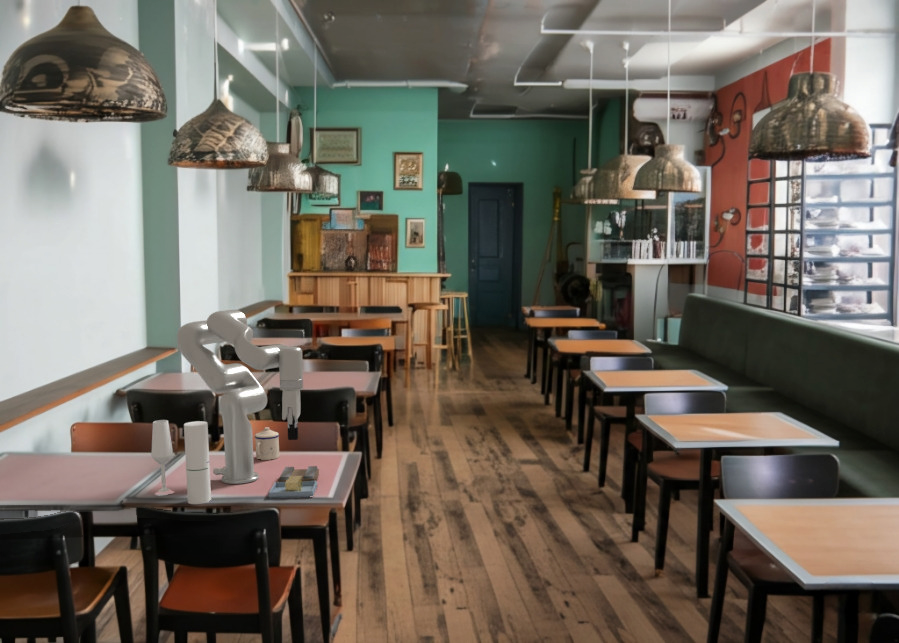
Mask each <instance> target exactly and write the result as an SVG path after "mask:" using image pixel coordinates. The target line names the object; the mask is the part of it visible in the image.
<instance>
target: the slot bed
mask: <svg viewBox="0 0 899 643" xmlns="http://www.w3.org/2000/svg"><path fill="white" fill-rule="evenodd" d="M289 476H302V481H316V480H317V481H318V479H319V477H320V468H318V465H309V466H307V468H304V469H297V468H296V469H295V466H285V467H284V469H283V471H282V472H281V474H280V476H279V477H278V480H277V482H286V480H288V479H289ZM318 476H319V477H318ZM317 478H318V479H317Z"/></svg>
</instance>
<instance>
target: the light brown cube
mask: <svg viewBox="0 0 899 643" xmlns="http://www.w3.org/2000/svg"><path fill="white" fill-rule="evenodd" d="M289 479H299V486H300V491H301V490H302V476H289Z"/></svg>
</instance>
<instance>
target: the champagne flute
mask: <svg viewBox="0 0 899 643" xmlns="http://www.w3.org/2000/svg"><path fill="white" fill-rule="evenodd" d="M151 434H152V437H151V438H152V439H151V458H152V459H153V460H154V461H155V462H156V463H157V464H158V465H160V470H161V471H160V472H161V473H160V474H161V488H159V489H158V490H157V491H159V492H166V491H169V490H170V488H168V487H167V484H166V467H165V465H166V464H167V463H168V462H169V461H170V460H171V459H172V457H173V455H174V450H173V445H172V438H171V432H170V425H169V420H167V419H159V420H154V421H153V422H152V433H151Z"/></svg>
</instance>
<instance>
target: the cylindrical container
mask: <svg viewBox="0 0 899 643" xmlns="http://www.w3.org/2000/svg"><path fill="white" fill-rule="evenodd" d="M208 424H209V423H208V422H207V421H204V420H203V421H202V420H201V421H200V420H196V421H188V422H185V423H184V424H183V430H184V431H183V433H184V434H183V435H184V451H185V452H184V455H185V473H186V487H187V488H186V489H187V490H186V491H187V494H186V495H187V503H188V504H190V505H203V504H207V503H210V502H211V501H212V491H211V490H212V489H211V469H210V468H211V467H210V450H209V446H210V445H209V429H208V428H209V426H208ZM210 500H211V501H210ZM209 501H210V502H209Z"/></svg>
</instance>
